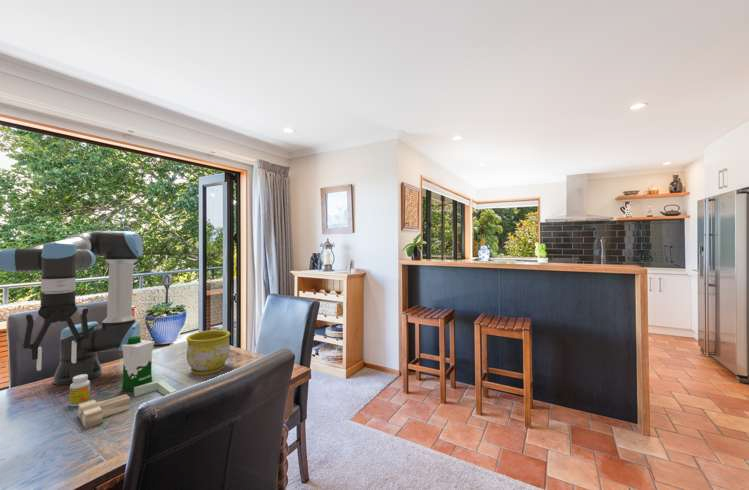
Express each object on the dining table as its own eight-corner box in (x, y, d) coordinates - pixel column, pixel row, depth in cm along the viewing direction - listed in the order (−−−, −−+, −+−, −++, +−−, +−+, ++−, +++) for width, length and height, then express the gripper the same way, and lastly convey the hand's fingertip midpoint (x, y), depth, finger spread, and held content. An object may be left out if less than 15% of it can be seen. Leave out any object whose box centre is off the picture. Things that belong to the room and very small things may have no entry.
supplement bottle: (66, 408, 107) (67, 380, 107) (72, 401, 112) (73, 374, 112) (86, 404, 109) (87, 377, 110) (92, 398, 114) (92, 372, 114)
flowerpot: (237, 364, 149) (238, 330, 149) (212, 379, 131) (212, 341, 132) (205, 361, 152) (205, 328, 152) (176, 376, 134) (176, 339, 135)
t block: (78, 415, 102) (78, 403, 102) (122, 401, 112) (123, 390, 112) (85, 428, 95) (85, 415, 95) (132, 412, 105) (133, 400, 105)
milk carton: (138, 381, 129) (139, 334, 129) (156, 383, 127) (157, 335, 127) (117, 390, 120) (118, 340, 120) (136, 393, 118) (137, 342, 119)
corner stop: (133, 395, 117) (134, 387, 117) (161, 386, 124) (161, 379, 124) (147, 408, 107) (148, 399, 107) (176, 398, 114) (176, 390, 114)
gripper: (10, 296, 84) (7, 379, 84) (103, 289, 100) (101, 359, 100) (8, 294, 89) (6, 372, 89) (97, 287, 105) (96, 354, 104)
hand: (56, 365), depth 94 cm, fingers open, 7 cm apart
